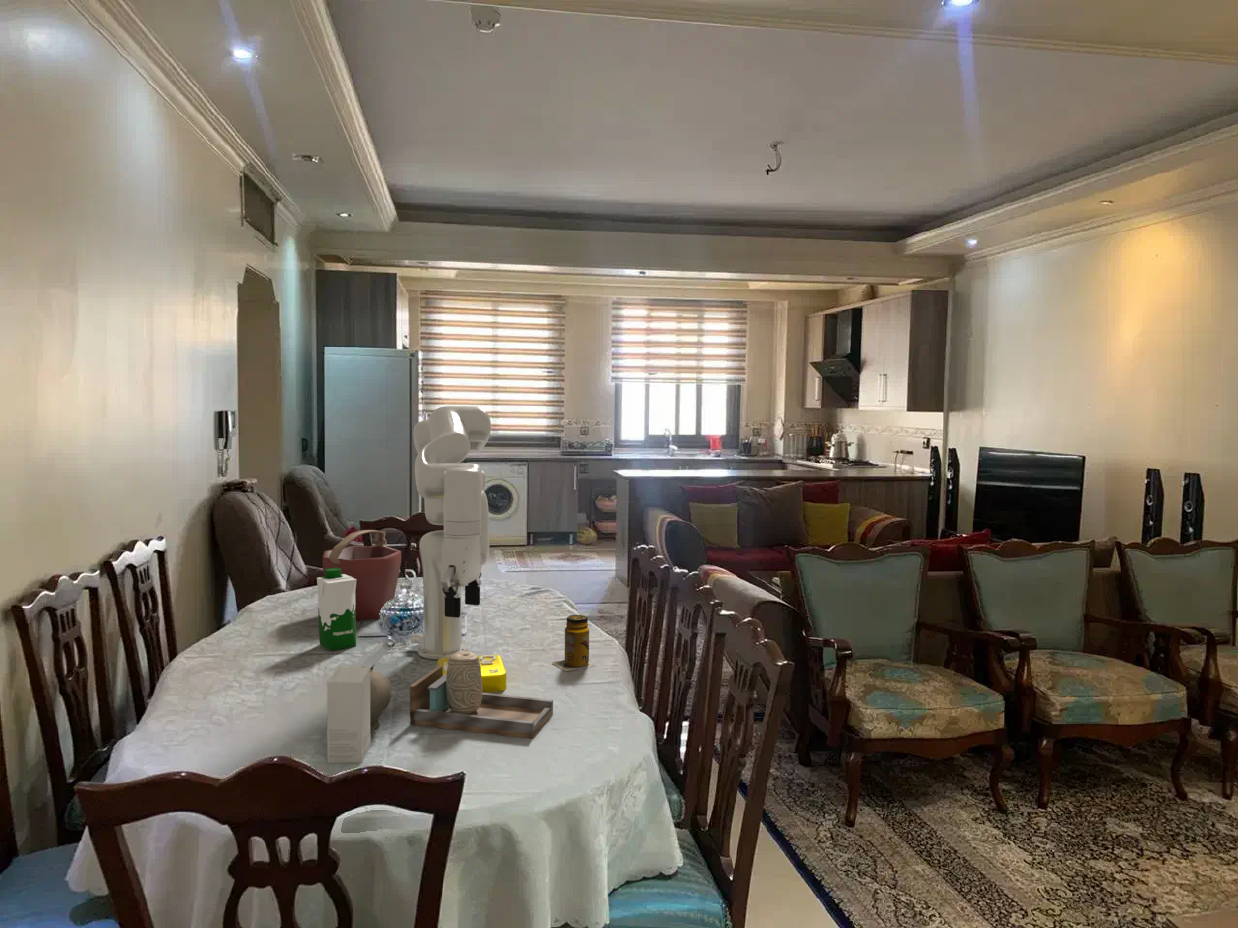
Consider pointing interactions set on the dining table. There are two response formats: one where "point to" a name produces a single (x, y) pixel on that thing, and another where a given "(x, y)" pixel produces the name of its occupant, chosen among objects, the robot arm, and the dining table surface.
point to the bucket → (367, 571)
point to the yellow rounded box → (486, 672)
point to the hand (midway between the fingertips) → (462, 610)
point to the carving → (464, 682)
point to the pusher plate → (438, 695)
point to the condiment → (576, 644)
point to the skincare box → (348, 714)
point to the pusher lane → (481, 712)
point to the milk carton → (336, 610)
